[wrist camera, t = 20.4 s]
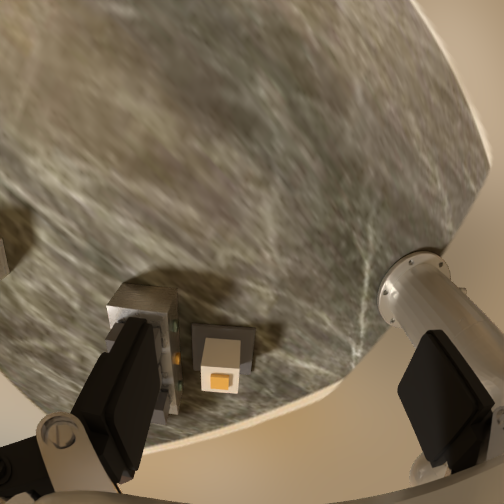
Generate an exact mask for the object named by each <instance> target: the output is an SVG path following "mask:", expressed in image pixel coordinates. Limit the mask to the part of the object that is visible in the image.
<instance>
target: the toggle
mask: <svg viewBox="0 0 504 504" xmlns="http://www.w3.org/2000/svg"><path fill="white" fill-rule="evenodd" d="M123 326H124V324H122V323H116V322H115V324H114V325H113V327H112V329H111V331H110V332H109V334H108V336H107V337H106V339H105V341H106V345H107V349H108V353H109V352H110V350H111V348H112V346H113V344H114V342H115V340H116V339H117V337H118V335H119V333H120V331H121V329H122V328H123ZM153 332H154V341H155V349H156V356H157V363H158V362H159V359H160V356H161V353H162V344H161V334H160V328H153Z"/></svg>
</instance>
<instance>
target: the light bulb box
mask: <svg viewBox="0 0 504 504" xmlns="http://www.w3.org/2000/svg"><path fill="white" fill-rule="evenodd" d="M9 273H10V272H9V267H8V263H7V259H6V254H5V249H4V245H3V239H2V238H0V281H1V280H2V279H3V278H4V277H6V276H7V275H8V274H9Z"/></svg>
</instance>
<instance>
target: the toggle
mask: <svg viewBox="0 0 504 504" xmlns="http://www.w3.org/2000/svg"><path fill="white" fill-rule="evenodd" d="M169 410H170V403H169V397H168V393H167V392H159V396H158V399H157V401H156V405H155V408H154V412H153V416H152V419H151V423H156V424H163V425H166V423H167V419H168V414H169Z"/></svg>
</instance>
